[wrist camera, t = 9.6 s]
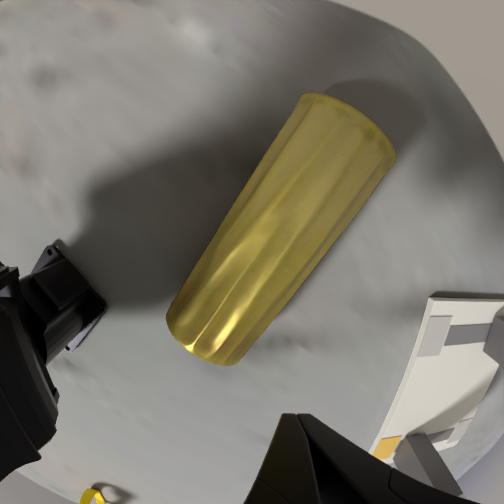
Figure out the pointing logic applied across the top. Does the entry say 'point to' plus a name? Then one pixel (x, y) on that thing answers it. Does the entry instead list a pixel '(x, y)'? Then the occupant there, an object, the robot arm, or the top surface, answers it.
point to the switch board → (442, 375)
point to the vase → (280, 227)
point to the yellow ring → (89, 495)
